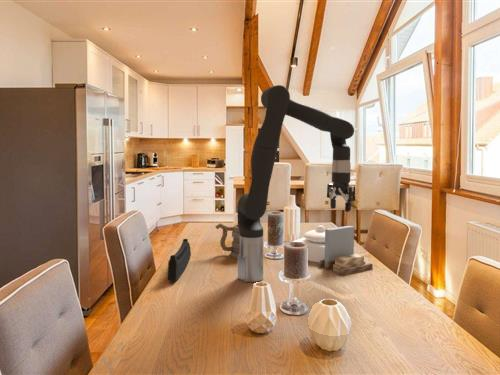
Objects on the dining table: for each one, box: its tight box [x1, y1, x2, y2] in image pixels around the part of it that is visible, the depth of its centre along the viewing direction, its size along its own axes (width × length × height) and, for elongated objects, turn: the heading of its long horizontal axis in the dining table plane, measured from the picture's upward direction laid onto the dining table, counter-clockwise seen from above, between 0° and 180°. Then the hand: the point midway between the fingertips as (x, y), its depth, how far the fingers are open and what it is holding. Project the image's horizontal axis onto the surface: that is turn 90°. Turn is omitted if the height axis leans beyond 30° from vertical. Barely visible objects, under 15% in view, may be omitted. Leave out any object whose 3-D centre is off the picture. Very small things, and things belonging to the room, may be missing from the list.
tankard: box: [215, 223, 240, 259], centre depth 199 cm, size 20×13×15 cm, turn 84°
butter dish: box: [292, 224, 327, 264], centre depth 191 cm, size 18×18×16 cm
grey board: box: [324, 225, 355, 268], centre depth 177 cm, size 14×2×16 cm, turn 121°
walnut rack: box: [317, 259, 374, 277], centre depth 175 cm, size 18×14×4 cm
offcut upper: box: [335, 253, 365, 266], centre depth 173 cm, size 12×4×2 cm, turn 121°
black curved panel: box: [167, 238, 192, 282], centre depth 173 cm, size 17×3×30 cm
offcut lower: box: [333, 260, 366, 273], centre depth 173 cm, size 14×4×2 cm, turn 121°
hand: (340, 210), depth 175 cm, fingers open, 8 cm apart
